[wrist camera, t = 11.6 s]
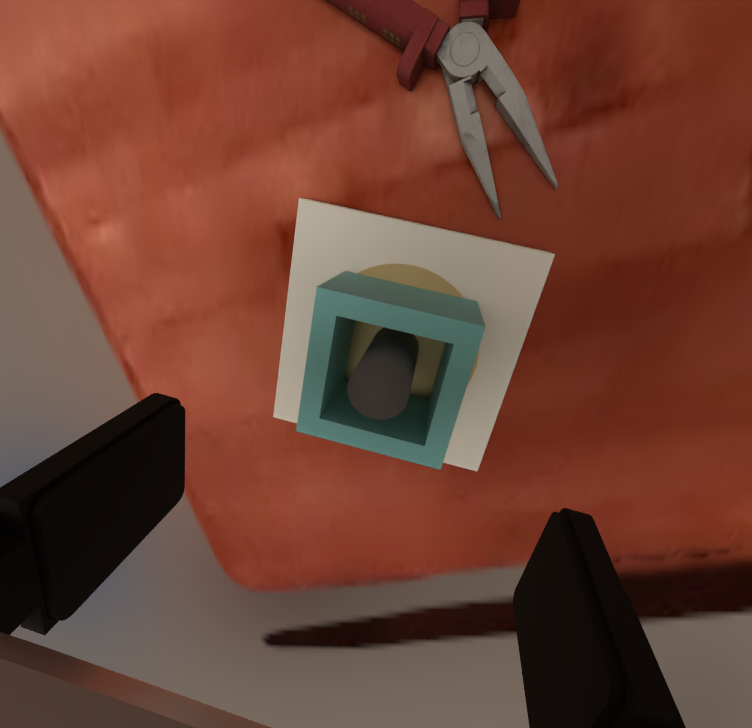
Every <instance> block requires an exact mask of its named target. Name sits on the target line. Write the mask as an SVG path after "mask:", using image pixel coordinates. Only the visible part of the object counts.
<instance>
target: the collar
mask: <svg viewBox="0 0 752 728" xmlns="http://www.w3.org/2000/svg"><path fill="white" fill-rule="evenodd" d="M355 320H356V321H360V322H365V323H369V324H373V325H377V326H381V327H385V328H389V329H394V330H398V331H402V332H406V333H410V334H414V335H418V336H422V337H427V338H431V339H435V340H439V341H443V342H445V345H444V349H443V352H442V356H441V359H440V363H439V367H438V370H437V374H436V377H435V381H434V384H433V388H432V392H431V395H430V399H426V398H422V397H418V396H414V395H411V394H410V395H409V399H408V402H407V405H406V407H405V408H404V409H403V411H402V412H401V413H399V414H398V415H396V416H395V417H392V418H390V419H385V420H376V419H371V418H368V417H366V416H364V415H362V414H361V413H359V412H358V411H357V410H356V409H355V408H354V407H353V405H352V404H351V402H350V400H349V397H348V392H347V386H348V381H349V379H348V378H345V373H346V368H347V362H348V357H349V352H350V346H351V341H352V335H353V330H354V325H355ZM485 327H486V326H485V323H484V320H483V317H482V314H481V311H480V308H479V305H478V302H477V301H474V300H470V299H465V298H461V297H457V296H453V295H448V294H444V293H440V292H435V291H431V290H427V289H422V288H418V287H414V286H409V285H405V284H401V283H396V282H392V281H388V280H383V279H379V278H375V277H371V276H366V275H362V274H358V273H353V272H349V271H344V272H342V273H340V274H339V275H337V276H335V277H333V278H331V279H330V280H328V281H326V282H324V283H323V284H321V285H319V286H317V289H316V296H315V303H314V310H313V317H312V324H311V331H310V338H309V345H308V351H307V358H306V365H305V372H304V379H303V386H302V393H301V400H300V407H299V414H298V421H297V428H296V431H297V432H301V433H305V434H309V435H312V436H316V437H320V438H324V439H327V440H331V441H335V442H338V443H342V444H346V445H350V446H353V447H357V448H361V449H365V450H368V451H372V452H376V453H379V454H383V455H387V456H391V457H394V458H398V459H402V460H406V461H409V462H413V463H417V464H421V465H424V466H428V467H432V468H435V469H439V470H441V467H442V464H443V461H444V458H445V455H446V451H447V448H448V445H449V442H450V439H451V435H452V432H453V429H454V426H455V423H456V420H457V416H458V413H459V410H460V407H461V404H462V400H463V397H464V394H465V391H466V388H467V385H468V381H469V378H470V375H471V372H472V369H473V365H474V362H475V359H476V356H477V353H478V350H479V346H480V343H481V340H482V337H483V334H484V330H485Z"/></svg>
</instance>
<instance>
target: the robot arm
mask: <svg viewBox="0 0 752 728" xmlns="http://www.w3.org/2000/svg"><path fill="white" fill-rule="evenodd" d="M184 487H185V409H184V407H183V406H181V404H180V401H179V400H178V399H177V398H173V397H169V396H166V395H162V394H159V393H154V394H151V395H150V396H148V397H146V398H145V399H143V400H141V401H140V402H138V403H137V404H135V405H133V406H132V407H130V408H129V409H127V410H125V411H124V412H122V413H120V414H119V415H117V416H116V417H114V418H112V419H111V420H109V421H107V422H106V423H104V424H103V425H101V426H99V427H98V428H96V429H95V430H93V431H92V432H90V433H88V434H86V435H85V436H83V437H82V438H80V439H78V440H77V441H75V442H73V443H72V444H70V445H69V446H67V447H65V448H64V449H62V450H60V451H59V452H58V453H56V454H54V455H52V456H51V457H49V458H47V459H46V460H44V461H43V462H41V463H39V464H38V465H36V466H34V467H33V468H31V469H30V470H28V471H26V472H25V473H23V474H22V475H20V476H18V477H17V478H15V479H14V480H12V481H10V482H9V483H7V484H5V485H4V486H2V487H1V488H0V728H271V727H268V726H265V725H262V724H260V723H257V722H254V721H251V720H248V719H246V718H243V717H240V716H237V715H234V714H231V713H229V712H226V711H223V710H220V709H218V708H215V707H212V706H209V705H207V704H204V703H201V702H198V701H196V700H193V699H190V698H187V697H184V696H182V695H179V694H176V693H173V692H170V691H167V690H165V689H162V688H159V687H157V686H154V685H151V684H148V683H145V682H142V681H140V680H137V679H134V678H131V677H128V676H125V675H123V674H120V673H117V672H114V671H111V670H108V669H106V668H103V667H100V666H97V665H94V664H92V663H89V662H86V661H83V660H80V659H77V658H75V657H72V656H69V655H66V654H63V653H60V652H57V651H55V650H52V649H49V648H46V647H44V646H40V645H38V644H35V643H32V642H28V641H25V640H22V639H19V638H16V637H13V636H10V634H11V633H12V632H13V631H14V630H15V629H16V628H17V627H18V626H19V625H20V624H21V627H23V628H26V629H29V630H31V631H34V632H37V633H40V634H43V635H46V634H47V633H48V631H49V630H50V629H51V628H52V627H53V626H54V625H55V624H56V623H57V622H58V621H59V620H61V621H62V620H66V619H67V618H69V617H70V616H71V615H72V614H73V613H74V612H75V611H76V610H77V609H78V608H79V607H80V606H81V605H82V604H83V603H84V602H85V601H86V600H87V599H88V597H89V596H90V595H91V594H92V593H93V592H94V591H95V590H96V589H97V588H98V587H99V586H100V585H101V584H102V583H103V582H104V580H105V579H106V578H107V577H108V576H109V575H110V574H111V573H112V572H113V571H114V570H115V569H116V568H117V567H118V566H119V565H120V563H121V562H122V561H123V560H124V559H125V558H126V557H127V556H128V555H129V554H130V553H131V552H132V551H133V550H134V549H135V548H136V547H137V545H138V544H139V543H140V542H141V541H142V540H143V539H144V538H145V537H146V536H147V535H148V534H149V532H151V531H152V529H154V527H155V526H156V525H157V524H158V523H159V522H160V521H161V520H162V519H163V518H164V517H165V516H166V515H167V514H168V513H169V511H170V510H171V509H172V508H173V507H174V506H175V505H176V504H177V503H178V502H179V500H180V499H181V497H182V495H183V492H184ZM513 608H514V616H515V623H516V630H517V638H518V645H519V653H520V660H521V667H522V675H523V682H524V690H525V697H526V704H527V712H528V719H529V726H530V728H686V727H685V725H684V723H683V721H682V718H681V716H680V713H679V711H678V709H677V707H676V704H675V702H674V700H673V698H672V695H671V693H670V690H669V688H668V686H667V683H666V681H665V679H664V677H663V674H662V672H661V670H660V668H659V665H658V663H657V660H656V658H655V656H654V653H653V651H652V649H651V646H650V644H649V642H648V640H647V637H646V635H645V633H644V630H643V628H642V626H641V623H640V621H639V619H638V616H637V614H636V612H635V610H634V607H633V605H632V603H631V600H630V598H629V596H628V594H627V593H626V591H625V590H624V589H623V587H622V585H621V583H620V580H619V578H618V576H617V573H616V571H615V569H614V566H613V564H612V562H611V559H610V557H609V555H608V552H607V550H606V548H605V545H604V543H603V541H602V538H601V536H600V533H599V531H598V529H597V526H596V524H595V522H594V520H593V518H592V516H590V515H588V514H585V513H581V512H578V511H574V510H571V509H567V508H563V509H562V510H561V511H560V512H559V513H558V512H553V513H552V514H551V516H550V518H549V520H548V522H547V524H546V526H545V528H544V530H543V533H542V535H541V537H540V539H539V541H538V543H537V545H536V547H535V549H534V551H533V553H532V555H531V558H530V560H529V562H528V564H527V566H526V568H525V570H524V572H523V574H522V576H521V578H520V580H519V583H518V585H517V587H516V589H515V592H514V597H513Z"/></svg>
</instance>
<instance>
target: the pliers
mask: <svg viewBox="0 0 752 728" xmlns="http://www.w3.org/2000/svg"><path fill="white" fill-rule="evenodd" d="M328 1H330V2H331V3H333V4H334V5H336V6H337V7H339V8H340V9H342V10H343V11H345V12H346V13H348V14H349V15H351V16H352V17H354V18H355V19H357V20H358V21H360V22H361V23H363V24H364V25H366V26H367V27H369V28H370V29H372V30H373V31H375V32H376V33H378V34H379V35H381V36H382V37H384V38H385V39H387V40H388V41H390V42H391V43H393V44H394V45H396V46H397V47H399V48H400V49H402V50H403V51H404V53H403V55H402V58H401V60H400V63H399V65H398V69H397V77H398V80H399V83H400V84H401V85H402V86H404V87H405V88H407V89H409V90H410V91H412V89H413V87H414V85H415V83H416V81H417V79H418V77H419V75H420V74H421V72H422V70H423V68H424V66H425V65H426V66H428V67H429V68H431V69H432V70H434V71H435V70H436V68H437V66H438V64H440V66H441V67H442V71H443V75H444V79H445V83H446V87H447V91H448V95H449V99H450V103H451V107H452V111H453V115H454V119H455V123H456V126H457V130H458V134H459V138H460V141H461V144H462V146H463V148H464V150H465V152H466V154H467V156H468V158H469V160H470V162H471V164H472V166H473V168H474V170H475V172H476V174H477V176H478V178H479V180H480V182H481V184H482V186H483V188H484V190H485V192H486V194H487V196H488V199H489V201H490V203H491V205H492V207H493V209H494V211H495V213H496V215H497V217H498V219H500V218H502V217H501V213H500V208H499V203H498V198H497V194H496V189H495V184H494V179H493V175H492V170H491V165H490V160H489V156H488V151H487V146H486V141H485V137H484V132H483V128H482V123H481V119H480V114H479V111H477V106H476V102H475V97H474V93H473V88H472V84H473V83H474V82H475V81H476V80H477V79H478V80H477V82H478V83H479V82H480V81H482V80H485V82H486V83H487V84H488V86H489V87H490V89H491V90H492V91H493V93H494V94H495V96H496V97H497V98H498V100H497V102H496V104H495V108H496V109H497V111H498V112H499V114H500V115H501V116H502V118H503V119H504V121H505V122H506V124H507V125H508V126H509V128H510V129H511V130H512V132H513V133H514V134H515V136H516V137H517V138H518V140H519V141H520V143H521V144H522V145H523V147H524V148H525V149H526V151H527V152H528V153H529V155H530V156H531V157H532V159H533V160H534V161H535V163H536V164H537V165H538V167H539V168H540V169H541V171H542V172H543V173H544V175H545V176H546V177H547V179H548V180H549V181H550V183H551V184H552V185H553V187H554V188H558V187H559V186H558V183H557V181H556V178H555V175H554V172H553V169H552V167H551V164H550V161H549V158H548V156H547V153H546V150H545V147H544V144H543V142H542V139H541V136H540V133H539V131H538V128H537V125H536V122H535V119H534V117H533V114H532V111H531V108H530V105H529V103H528V100H527V97H526V95H525V93H524V91H523V89H522V87H521V86H520V84H519V82H518V81H517V79H516V77H515V76H514V74H513V73H512V71H511V69H510V68H509V66H508V65H507V63H506V61H505V60H504V58H503V57H502V55H501V54H500V52H499V51H498V50H497V48H496V47H495V45H494V44H493V42H492V41H491V39H490V38H489V36H488V35H487V33H486V31H487V28H488V20H489V19H495V18H508V17H514V16H515V14H516V11H517V8H518V5H519V3H520V0H460V6H459V24H457V25H456V26H454V27H453V28H452V29H451V30H450V31H449V25H448V24H446V23H445V22H443V21H442V20H440V19H439V18H438V16H436V15H435V14H433V13H432V12H430V11H429V10H427V9H424V8H423V7H421V6H420V5H418V4H417V3H415V2H414V1H412V0H328Z"/></svg>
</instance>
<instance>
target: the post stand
mask: <svg viewBox="0 0 752 728" xmlns="http://www.w3.org/2000/svg"><path fill="white" fill-rule="evenodd" d="M554 256H555V254H553V253H551V252H548V251H543V250H539V249H534V248H530V247H525V246H521V245H516V244H512V243H507V242H502V241H498V240H493V239H489V238H484V237H480V236H475V235H471V234H466V233H461V232H457V231H452V230H448V229H443V228H439V227H434V226H430V225H425V224H420V223H416V222H411V221H407V220H402V219H398V218H393V217H389V216H384V215H379V214H375V213H370V212H366V211H361V210H357V209H352V208H348V207H343V206H338V205H334V204H329V203H325V202H320V201H316V200H311V199H304V198H299V203H298V212H297V220H296V229H295V237H294V246H293V254H292V263H291V271H290V279H289V288H288V296H287V305H286V313H285V322H284V330H283V339H282V347H281V356H280V364H279V373H278V381H277V390H276V398H275V407H274V415H273V417H275V418H279V419H282V420H286V421H290V422H294V423H297V421H298V414H299V407H300V400H301V393H302V386H303V379H304V372H305V365H306V358H307V351H308V345H309V338H310V331H311V324H312V317H313V310H314V303H315V296H316V289H317V286H319V285H321V284H323V283H324V282H326V281H328V280H330V279H331V278H333V277H335V276H337V275H339V274H340V273H342V272H344V271H349V272H353V273H358V274H362V275H366V276H371V277H375V278H379V279H383V280H388V281H392V282H396V283H401V284H405V285H409V286H414V287H418V288H422V289H427V290H431V291H435V292H440V293H444V294H448V295H453V296H457V297H461V298H465V299H470V300H474V301H477V302H478V305H479V308H480V311H481V314H482V317H483V320H484V323H485V326H486V327H485V330H484V334H483V337H482V340H481V343H480V346H479V350H478V353H477V356H476V359H475V362H474V365H473V369H472V372H471V375H470V378H469V381H468V385H467V388H466V391H465V394H464V397H463V400H462V404H461V407H460V410H459V413H458V416H457V420H456V423H455V426H454V429H453V432H452V435H451V439H450V442H449V445H448V448H447V451H446V455H445V458H444V461H443V463H447V464H451V465H454V466H458V467H462V468H466V469H469V470H473V471H478V468H479V466H480V463H481V460H482V457H483V454H484V452H485V449H486V446H487V443H488V440H489V438H490V435H491V432H492V429H493V426H494V424H495V421H496V418H497V415H498V412H499V410H500V407H501V404H502V401H503V398H504V396H505V393H506V390H507V387H508V385H509V382H510V379H511V376H512V373H513V371H514V368H515V365H516V362H517V359H518V357H519V354H520V351H521V348H522V345H523V343H524V340H525V337H526V334H527V331H528V329H529V326H530V323H531V320H532V317H533V315H534V312H535V309H536V306H537V304H538V301H539V298H540V295H541V292H542V290H543V287H544V284H545V281H546V278H547V276H548V273H549V270H550V267H551V264H552V262H553V259H554ZM444 345H445V342H443V341H439V340H435V339H431V338H427V337H422V336H418V335H414V334H410V333H406V332H402V331H398V330H394V329H389V328H385V327H381V326H377V325H373V324H369V323H365V322H360V321H356V320H355V325H354V330H353V335H352V341H351V346H350V352H349V357H348V362H347V368H346V373H345V378H348V379H349V381H348V386H347V392H348V397H349V400H350V402H351V404H352V405H353V407H354V408H355V409H356V410H357V411H358V412H359V413H361V414H362V415H364V416H366V417H368V418H371V419H376V420H385V419H390V418H392V417H395V416H396V415H398V414H399V413H401V412H402V411H403V409H404V408H405V407H406V405H407V402H408V399H409V395H410V394H411V395H414V396H418V397H422V398H426V399H430V395H431V392H432V388H433V384H434V381H435V377H436V374H437V370H438V367H439V363H440V359H441V356H442V352H443V349H444Z"/></svg>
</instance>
